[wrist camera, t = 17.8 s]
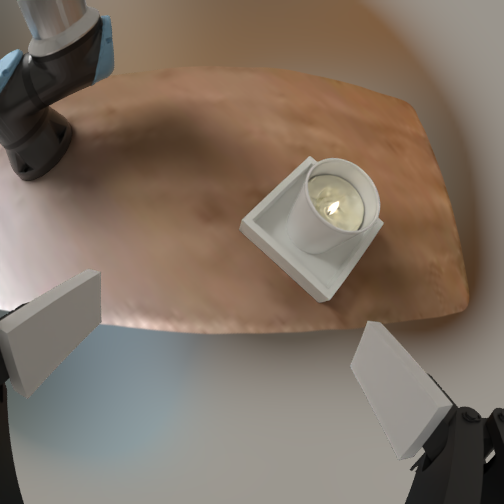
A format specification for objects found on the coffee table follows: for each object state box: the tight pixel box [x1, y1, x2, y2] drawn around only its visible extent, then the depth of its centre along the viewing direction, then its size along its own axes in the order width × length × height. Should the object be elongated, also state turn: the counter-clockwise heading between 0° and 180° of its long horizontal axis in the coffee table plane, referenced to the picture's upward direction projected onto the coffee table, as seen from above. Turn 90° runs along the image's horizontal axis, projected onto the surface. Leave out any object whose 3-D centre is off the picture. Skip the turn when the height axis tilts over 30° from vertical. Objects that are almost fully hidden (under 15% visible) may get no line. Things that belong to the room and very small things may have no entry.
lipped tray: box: [239, 156, 384, 303], centre depth 40 cm, size 16×16×4 cm
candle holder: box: [286, 158, 380, 254], centre depth 35 cm, size 10×10×12 cm
